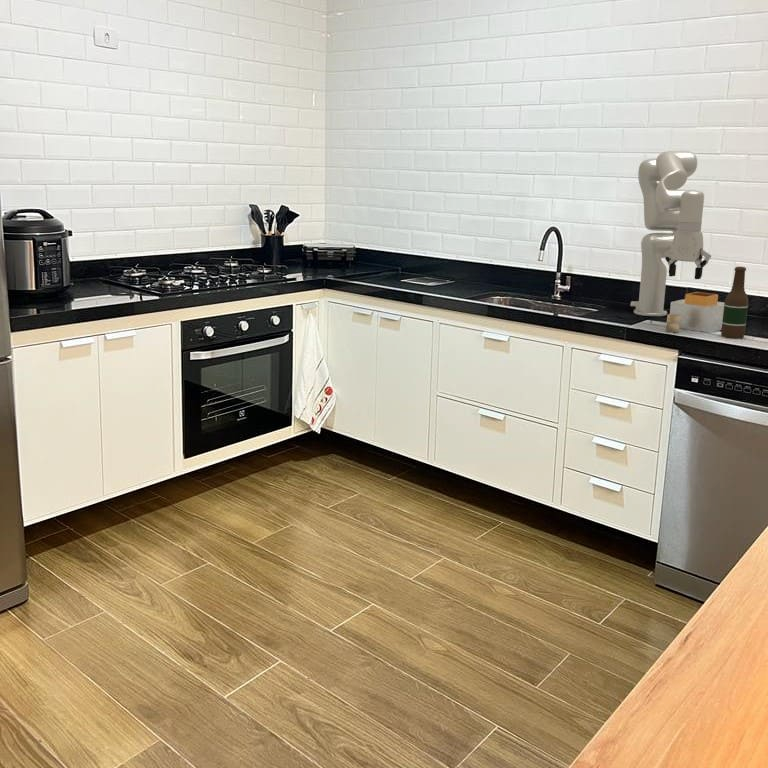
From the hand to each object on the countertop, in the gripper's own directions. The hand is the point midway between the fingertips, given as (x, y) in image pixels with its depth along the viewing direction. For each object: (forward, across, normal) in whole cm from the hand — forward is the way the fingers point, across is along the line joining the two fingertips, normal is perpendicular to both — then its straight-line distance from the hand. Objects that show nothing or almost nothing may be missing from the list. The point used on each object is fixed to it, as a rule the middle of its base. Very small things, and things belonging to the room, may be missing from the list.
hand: (684, 277), depth 292 cm
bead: (+19, -2, -2) cm, 19 cm away
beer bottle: (+20, +16, +7) cm, 26 cm away
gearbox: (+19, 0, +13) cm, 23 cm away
